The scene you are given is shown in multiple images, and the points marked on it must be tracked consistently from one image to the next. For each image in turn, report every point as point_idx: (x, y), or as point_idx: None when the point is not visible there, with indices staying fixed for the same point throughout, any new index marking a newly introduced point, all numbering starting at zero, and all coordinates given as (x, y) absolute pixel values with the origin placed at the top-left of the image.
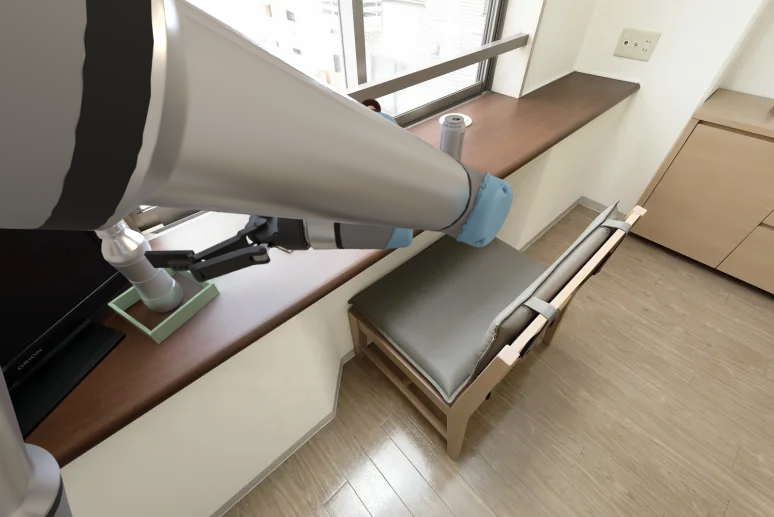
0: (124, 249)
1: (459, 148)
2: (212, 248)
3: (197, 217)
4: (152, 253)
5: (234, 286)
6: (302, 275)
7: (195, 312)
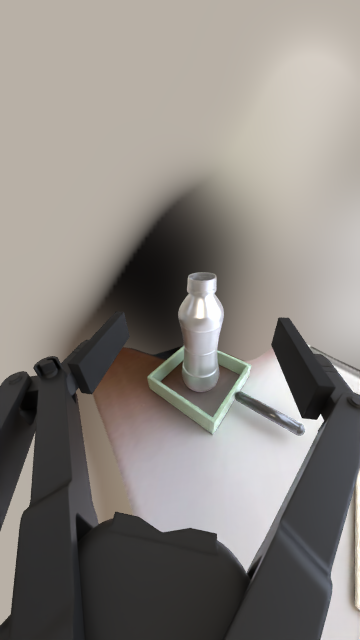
0: (185, 309)
1: None
2: (55, 405)
3: (344, 371)
4: (112, 318)
5: (226, 455)
6: None
7: (181, 411)
